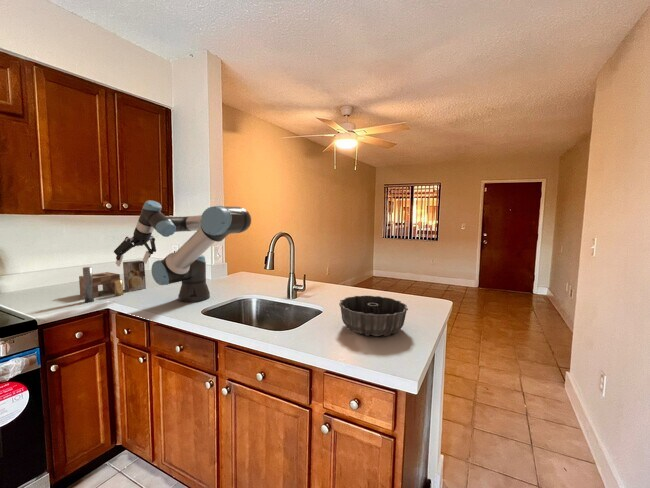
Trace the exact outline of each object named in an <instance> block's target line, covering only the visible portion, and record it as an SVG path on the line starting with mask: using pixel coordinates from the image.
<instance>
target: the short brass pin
mask: <svg viewBox="0 0 650 488" xmlns="http://www.w3.org/2000/svg"><path fill="white" fill-rule="evenodd" d="M123 282H124V279H120V280H115V281H114V283H115V293H114V296H115V297H122V296H124V287H123V286H124V283H123ZM121 295H122V296H121Z"/></svg>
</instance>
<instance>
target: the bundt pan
mask: <svg viewBox="0 0 650 488" xmlns="http://www.w3.org/2000/svg"><path fill="white" fill-rule="evenodd" d="M338 304H339V307H340V312H341V320H342V322H343V324H344V325H345V326H346V328H347V329H348V331H352V332H355V333H357V334H361V335H362V334H364V336H367V337H368V336H370V335H372V336H373V337H380V336H384V337H387V336H390V335H393V334H396V333H397V332H398V331H399V330H401V329H402V328H403V327H404V324H405V320H406V319H405V318H406V316H407V315H406V314H407V311H409V308H408V305H407V304H406V303H403V302H402V301H401V300H396V299H394V298H392V297H383V296H380V295H377V296H375V295H354V296H348V297H345V298H344V299H341V300H340V302H339V303H338Z"/></svg>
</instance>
